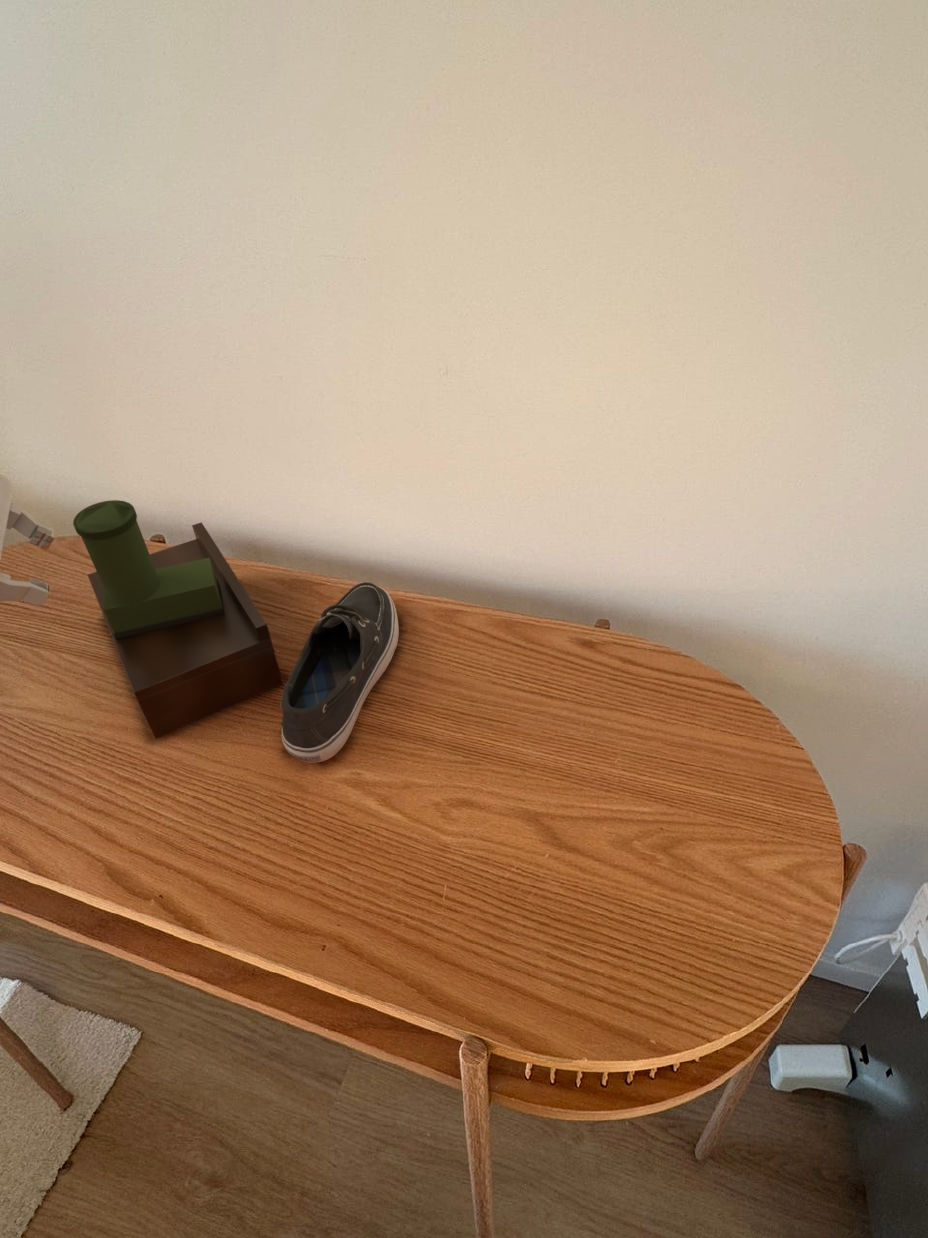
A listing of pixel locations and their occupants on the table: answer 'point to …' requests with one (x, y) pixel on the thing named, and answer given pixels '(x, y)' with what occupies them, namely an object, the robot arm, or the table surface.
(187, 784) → the table surface
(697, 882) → the table surface
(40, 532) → the robot arm
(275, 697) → the table surface
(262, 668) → the shoe bench
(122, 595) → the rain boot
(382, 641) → the boat shoe
